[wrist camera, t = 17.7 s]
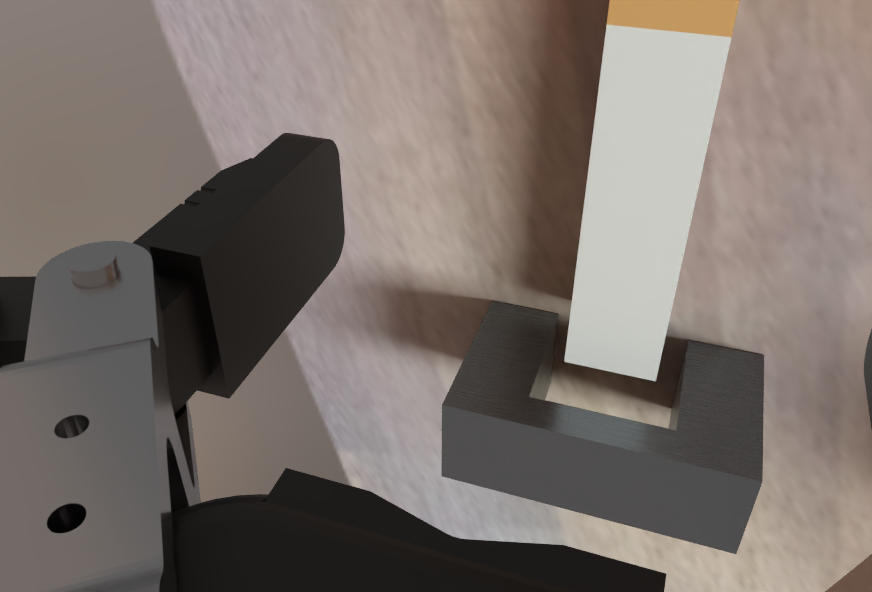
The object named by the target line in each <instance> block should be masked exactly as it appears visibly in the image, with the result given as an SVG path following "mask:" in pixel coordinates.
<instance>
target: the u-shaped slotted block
mask: <svg viewBox="0 0 872 592" xmlns="http://www.w3.org/2000/svg"><path fill="white" fill-rule="evenodd" d="M558 315H559V314H555V313H550V312H545V311H540V310H535V309H530V308H526V307H521V306H516V305H511V304H506V303H501V302H496V301H492V302H491V304H490V306H489V308H488V311H487V313H486V315H485V317H484V319H483V321H482V323H481V325H480V327H479V329H478V331H477V333H476V336H475V338H474V340H473V342H472V344H471V346H470V348H469V350H468V352H467V354H466V356H465V358H464V361H463V363H462V365H461V367H460V369H459V371H458V373H457V375H456V377H455V379H454V381H453V383H452V386H451V388H450V390H449V392H448V394H447V396H446V398H445V400H444V402H443V404H442V476H443V477H447V478H451V479H455V480H458V481H462V482H466V483H470V484H474V485H477V486H481V487H485V488H489V489H492V490H496V491H500V492H504V493H508V494H511V495H515V496H519V497H523V498H526V499H530V500H534V501H538V502H541V503H545V504H549V505H553V506H557V507H560V508H564V509H568V510H572V511H575V512H579V513H583V514H587V515H591V516H594V517H598V518H602V519H606V520H609V521H613V522H617V523H621V524H625V525H628V526H632V527H636V528H640V529H643V530H647V531H651V532H655V533H659V534H662V535H666V536H670V537H674V538H677V539H681V540H685V541H689V542H693V543H696V544H700V545H704V546H708V547H711V548H715V549H719V550H723V551H726V552H730V553H734V554H736V553H737V550H738V547H739V545H740V542H741V539H742V536H743V534H744V531H745V528H746V525H747V522H748V520H749V517H750V514H751V511H752V509H753V506H754V503H755V500H756V498H757V495H758V492H759V489H760V487H761V484H762V469H763V397H764V355H760V354H755V353H750V352H745V351H740V350H735V349H730V348H725V347H720V346H715V345H710V344H705V343H700V342H695V341H690V340H688V344H687V348H686V352H685V356H684V360H683V365H682V369H681V373H680V377H679V381H678V385H677V389H676V393H675V397H674V402H673V406H672V410H671V417H670V424H669V429H667V428H663V427H658V426H654V425H650V424H645V423H641V422H637V421H632V420H628V419H624V418H619V417H615V416H611V415H606V414H602V413H598V412H593V411H589V410H585V409H580V408H576V407H572V406H567V405H563V404H559V403H554V402H550V401H545V398H546V395H547V392H548V389H549V386H550V383H551V375H552V367H553V358H554V349H555V341H556V332H557V323H558Z"/></svg>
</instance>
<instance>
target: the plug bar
mask: <svg viewBox="0 0 872 592" xmlns="http://www.w3.org/2000/svg"><path fill="white" fill-rule="evenodd" d="M739 1H740V0H610V2H609V10H608V18H607V26H606V34H605V42H604V50H603V58H602V66H601V74H600V81H599V89H598V97H597V105H596V113H595V121H594V129H593V137H592V145H591V153H590V161H589V169H588V177H587V185H586V193H585V200H584V208H583V216H582V224H581V232H580V240H579V248H578V256H577V264H576V272H575V280H574V288H573V296H572V304H571V312H570V319H569V327H568V335H567V343H566V351H565V359H564V362H568V363H572V364H577V365H582V366H586V367H591V368H596V369H600V370H605V371H609V372H614V373H619V374H623V375H628V376H633V377H637V378H642V379H647V380H651V381H656V378H657V374H658V369H659V365H660V360H661V355H662V351H663V346H664V342H665V337H666V333H667V328H668V324H669V319H670V315H671V310H672V305H673V301H674V296H675V292H676V287H677V283H678V278H679V274H680V269H681V265H682V260H683V255H684V251H685V246H686V242H687V237H688V233H689V228H690V224H691V219H692V214H693V210H694V205H695V201H696V196H697V192H698V187H699V183H700V178H701V174H702V169H703V164H704V160H705V155H706V151H707V146H708V142H709V137H710V133H711V128H712V123H713V119H714V114H715V110H716V105H717V101H718V96H719V92H720V87H721V83H722V78H723V73H724V69H725V64H726V60H727V55H728V51H729V46H730V42H731V37H732V32H733V28H734V23H735V19H736V14H737V10H738V5H739Z"/></svg>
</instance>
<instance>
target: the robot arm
mask: <svg viewBox="0 0 872 592" xmlns="http://www.w3.org/2000/svg"><path fill="white" fill-rule="evenodd" d="M344 234H345V228H344V214H343V201H342V188H341V174H340V161H339V153H338V149H337V146H336V144H335V143H334V142H333V141H332V140H330V139H324V138H317V137H311V136H305V135H298V134H292V133H284V134H282V135H281V136H279V137H278V138H277V139H276V140H275V141H273V142H272V143H271V144H270V145H269V146H267V147H266V148H265V149H264V150H263V151H261V152H260V153H259V154H258V155H257V156H256V157H254V158H253V159H252V158H250V159H248V160H245V161H243V162H241V163H238V164H236V165H233V166H231V167H229V168H226V169H224V170H222V171H220V172H219V173H218V174H216V175H215V176H214V177H213V178H212V179H210V180H209V181H208V182H207V183H205V184H204V185H203V186H202V187H201V191H198V190H197V191H196V192H194V193H193V194H192V195H191V196H190V197H188V198H187V199H186V200H185V204H180V205H178V206H177V207H176V208H175V209H174V210H172V211H171V212H170V213H169V214H167V216H165V217H164V218H163V219H161V220H160V221H159V222H158V223H156V224H155V225H154V226H153V227H152V228H150V229H149V230H148V231H147V232H145V233H144V234H143V235H142V236H140V237H139V238H138V239H137V240H136V241H134V242H133V243H129V242H124V241H102V242H95V243H89V244H85V245H81V246H78V247H75V248H72V249H69V250H67V251H65V252H63V253H61V254H59V255H57V256H55V257H54V258H52V259H51V260H49V261H48V262H47V263H46V264H45V265H44V266H43V267H42V268H41V269H40V270H39V272H38V274H37V276H36V277H0V592H664V588H665V580H666V574H665V573H661V572H658V571H654V570H650V569H647V568H643V567H640V566H636V565H633V564H629V563H625V562H622V561H618V560H615V559H611V558H607V557H604V556H600V555H597V554H593V553H589V552H586V551H582V550H579V549H575V548H571V547H568V546H564V545H551V544H534V543H517V542H501V541H484V540H467V539H459V538H456V537H452V536H450V535H448V534H446V533H444V532H442V531H440V530H439V529H437V528H435V527H433V526H431V525H430V524H428V523H426V522H424V521H423V520H421V519H419V518H417V517H415V516H414V515H412V514H410V513H408V512H406V511H405V510H403V509H401V508H399V507H397V506H396V505H394V504H392V503H390V502H388V501H387V500H385V499H383V498H381V497H379V496H378V495H376V494H374V493H372V492H370V491H367V490H363V489H360V488H356V487H352V486H349V485H345V484H342V483H338V482H334V481H330V480H327V479H324V478H320V477H316V476H313V475H309V474H306V473H302V472H298V471H295V470H291V469H288V468H286V469H285V471H284V472H283V473H282V475H281V477H280V478H279V480H278V481H277V483H276V484H275V486H274V487H273V489H272V490H271V492H270V493H269V495H263V494H258V495H240V496H232V497H226V498H220V499H214V500H210V501H206V502H202V503H201V499H200V492H199V482H198V473H197V465H196V455H195V447H194V438H193V429H192V420H191V415H190V410H189V407H188V402H187V401H188V400H189V398H190V397H191V396H192V395H193V394H194V393H195V392H196V391H197V390H198V391H202V392H206V393H210V394H214V395H218V396H221V397H225V398H230V397H231V395H232V394H233V393H234V392H235V391H236V389H237V388H238V387H239V386H240V384H241V383H242V382H243V381H244V380H245V378H246V377H247V376H248V375H249V373H250V372H251V371H252V370H253V368H254V367H255V366H256V364H257V363H258V362H259V361H260V360H261V358H262V357H263V356H264V355H265V353H266V352H267V351H268V350H269V348H270V347H271V346H272V345H273V343H274V342H275V341H276V340H277V338H278V337H279V336H280V335H281V333H282V332H283V331H284V330H285V328H286V327H287V326H288V325H289V323H290V322H291V321H292V320H293V318H294V317H295V316H296V315H297V314H298V312H299V311H300V310H301V309H302V307H303V306H304V305H305V304H306V302H307V301H308V300H309V299H310V297H311V296H312V295H313V294H314V292H315V291H316V290H317V289H318V287H319V286H320V285H321V284H322V282H323V281H324V280H325V279H326V277H327V276H328V275H329V274H330V272H331V271H332V270H333V269H334V267H335V266H336V264H337V262H338V260H339V258H340V255H341V252H342V248H343V243H344ZM864 377H865V385H866V392H867V399H868V406H869V414H870V421H871V428H872V330H871V333H870V336H869V340H868V343H867V348H866V354H865V361H864ZM825 592H872V554H871V555H870V556H869V557H868V558H866V559H865V560H864V561H863V562H861V563H860V564H859V565H858V566H856V567H855V568H854V569H853V570H851V571H850V572H849V573H848V574H847V575H845V576H844V577H843V578H842V579H840V580H839V581H838V582H837V583H835V584H834V585H833V586H832V587H830V588H829V589H828V590H827V591H825Z"/></svg>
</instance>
